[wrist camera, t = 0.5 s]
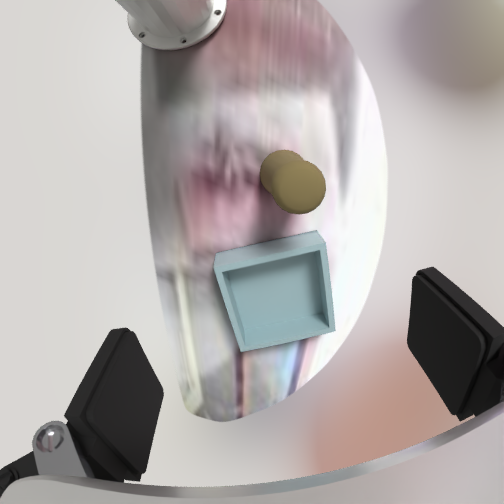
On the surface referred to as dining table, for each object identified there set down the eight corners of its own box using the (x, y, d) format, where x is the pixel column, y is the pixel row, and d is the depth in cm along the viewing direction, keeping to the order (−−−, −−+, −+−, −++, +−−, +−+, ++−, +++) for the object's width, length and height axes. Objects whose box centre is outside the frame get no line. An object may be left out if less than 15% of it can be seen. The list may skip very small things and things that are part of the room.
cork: (288, 206, 38) (307, 235, 28) (249, 179, 36) (254, 197, 26) (317, 169, 36) (347, 184, 26) (279, 140, 35) (295, 142, 24)
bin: (216, 252, 40) (213, 267, 36) (316, 230, 39) (325, 242, 35) (240, 332, 45) (240, 352, 41) (327, 313, 44) (335, 330, 40)
